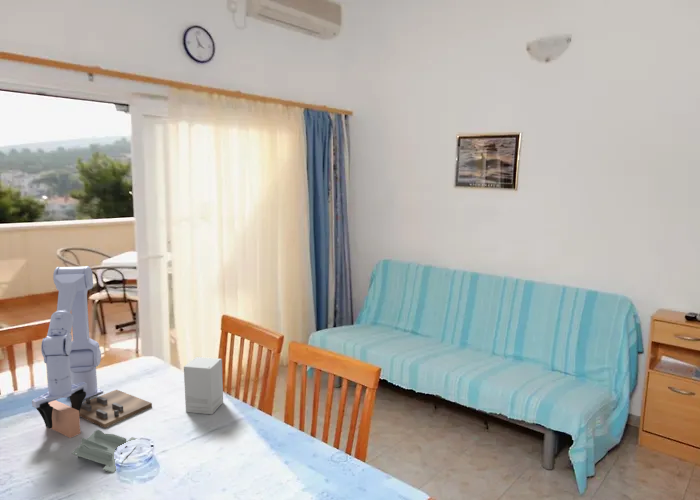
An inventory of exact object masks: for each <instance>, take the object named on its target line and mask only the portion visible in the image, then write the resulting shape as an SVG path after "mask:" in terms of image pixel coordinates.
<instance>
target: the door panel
mask: <svg viewBox="0 0 700 500" xmlns="http://www.w3.org/2000/svg"><path fill="white" fill-rule="evenodd" d="M48 404H50V406H51V407H53V410H52V428H50V429H51V430H53V431H56V433H60V434H61V435H62V436H65V437H68V438H69V439H71V438H74V437H76V436H78V435H80V434H82V433H81V420H80V418H81V417H80V416H79V410H76V409H74V408H72V406H71V405H68V404H65V403H63V402H61V401H58V400H54V401H51V402H49V403H48Z"/></svg>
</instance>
